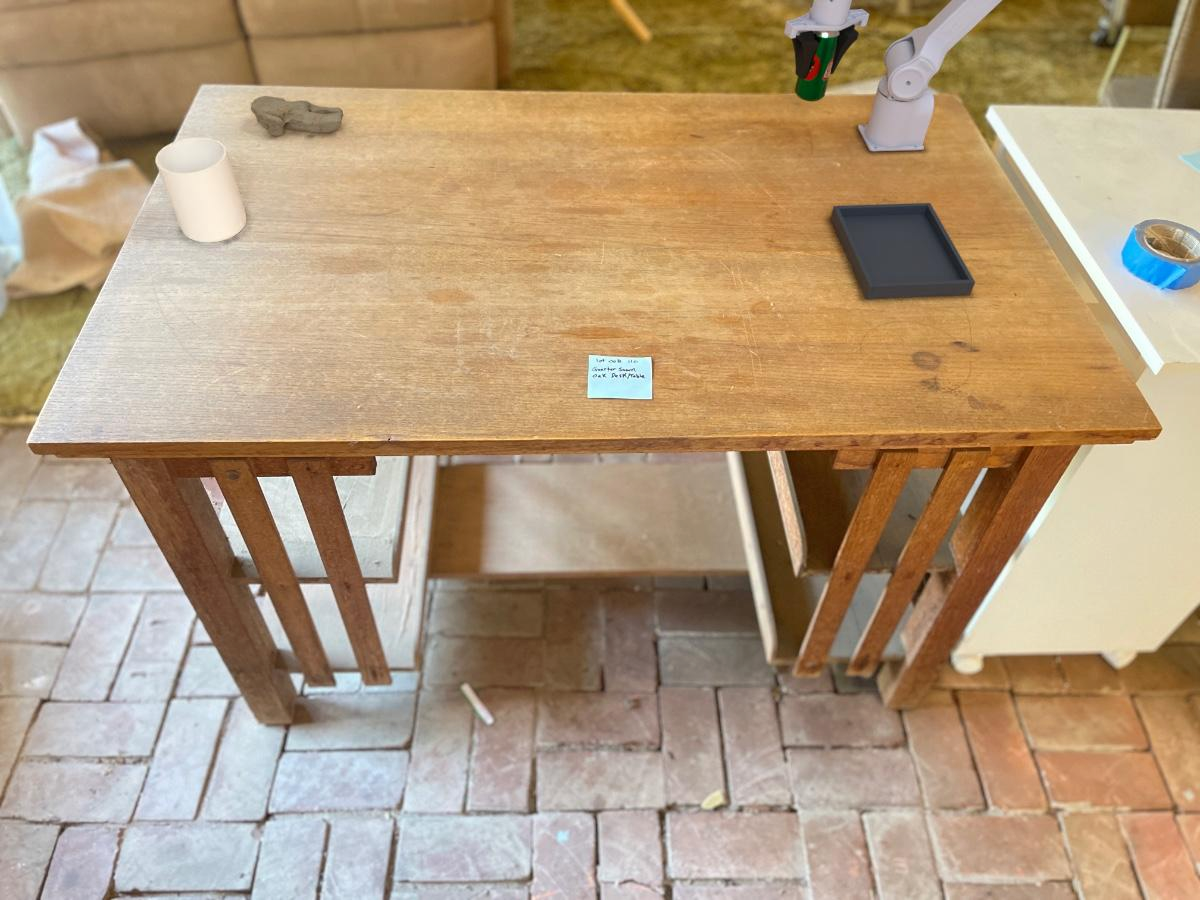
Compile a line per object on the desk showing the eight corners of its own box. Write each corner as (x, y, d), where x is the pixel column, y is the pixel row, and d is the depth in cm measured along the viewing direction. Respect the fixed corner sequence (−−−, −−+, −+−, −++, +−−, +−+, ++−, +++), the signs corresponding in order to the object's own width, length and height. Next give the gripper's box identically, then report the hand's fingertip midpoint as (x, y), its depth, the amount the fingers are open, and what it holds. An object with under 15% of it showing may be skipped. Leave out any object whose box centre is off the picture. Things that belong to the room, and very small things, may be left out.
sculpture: (349, 121, 158) (260, 112, 157) (346, 96, 154) (255, 86, 153) (342, 145, 154) (250, 136, 153) (339, 120, 150) (245, 111, 149)
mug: (176, 246, 133) (149, 175, 124) (190, 199, 141) (165, 129, 132) (244, 243, 134) (221, 172, 125) (253, 196, 142) (233, 126, 133)
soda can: (824, 104, 152) (842, 33, 143) (793, 101, 153) (810, 29, 143) (823, 89, 156) (841, 18, 146) (794, 86, 156) (810, 15, 147)
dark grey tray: (925, 215, 144) (930, 202, 142) (970, 295, 131) (975, 282, 129) (830, 218, 142) (833, 205, 140) (865, 299, 130) (869, 286, 128)
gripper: (859, -28, 145) (837, 56, 156) (782, -17, 141) (764, 68, 151) (885, -9, 141) (861, 75, 152) (807, 3, 137) (787, 89, 147)
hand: (814, 73), depth 151 cm, fingers closed on soda can, 5 cm apart
